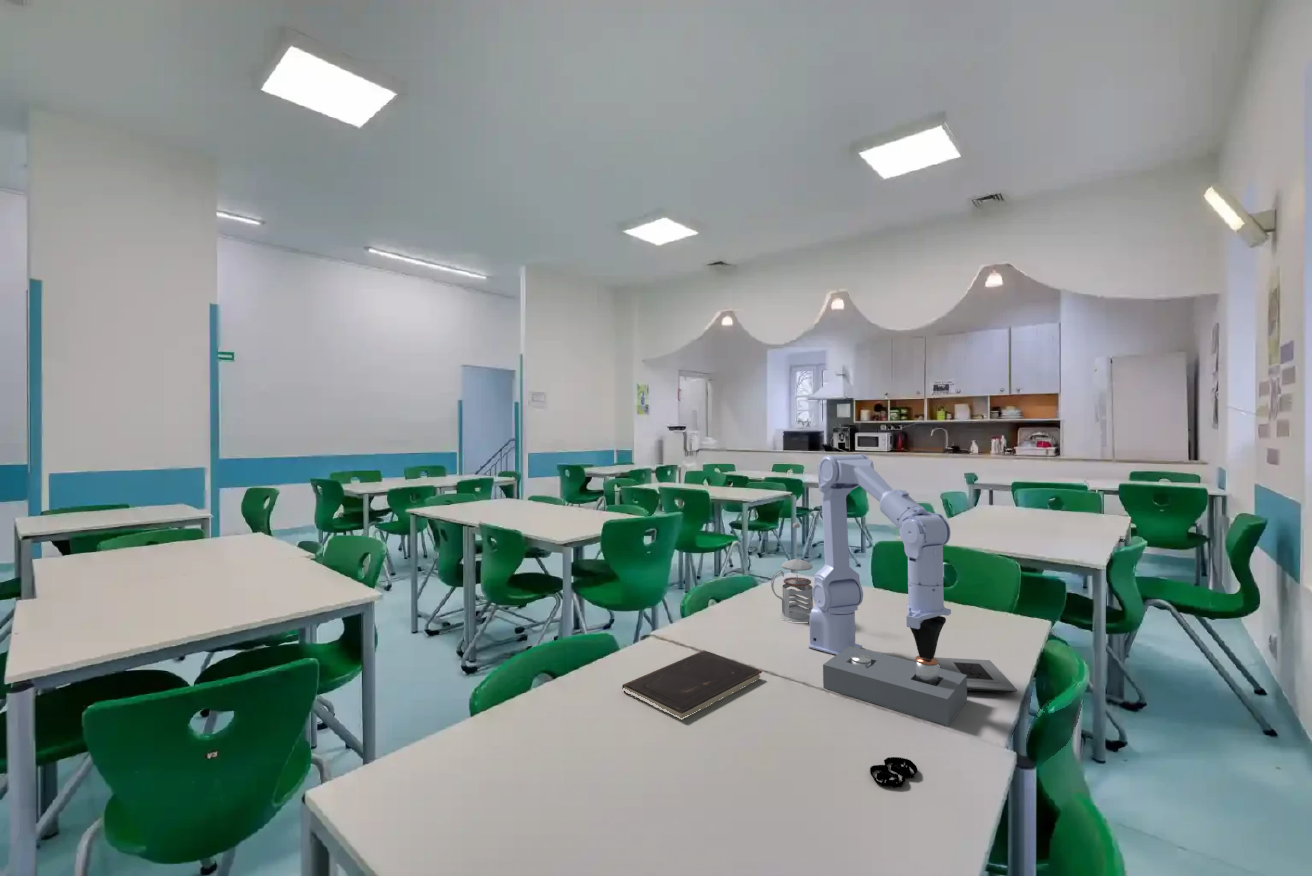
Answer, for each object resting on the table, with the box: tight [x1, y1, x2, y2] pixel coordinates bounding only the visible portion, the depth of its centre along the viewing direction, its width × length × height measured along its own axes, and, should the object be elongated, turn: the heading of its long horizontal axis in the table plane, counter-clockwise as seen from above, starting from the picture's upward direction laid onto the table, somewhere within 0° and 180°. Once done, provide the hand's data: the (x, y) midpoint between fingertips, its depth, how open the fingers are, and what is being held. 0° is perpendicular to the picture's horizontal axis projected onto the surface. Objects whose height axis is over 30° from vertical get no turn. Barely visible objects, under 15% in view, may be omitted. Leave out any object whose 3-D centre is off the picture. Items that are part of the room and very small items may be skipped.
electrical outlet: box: [934, 656, 1018, 694], centre depth 110 cm, size 13×10×2 cm
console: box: [822, 646, 968, 727], centre depth 106 cm, size 22×12×4 cm, turn 48°
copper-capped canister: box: [915, 655, 939, 686], centre depth 102 cm, size 4×4×5 cm
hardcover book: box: [621, 649, 763, 718], centre depth 111 cm, size 16×23×2 cm
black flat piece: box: [869, 756, 918, 789], centre depth 81 cm, size 5×8×1 cm, turn 125°
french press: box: [770, 522, 814, 622], centre depth 149 cm, size 10×12×25 cm
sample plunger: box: [851, 654, 871, 668], centre depth 110 cm, size 4×4×5 cm
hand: (926, 657), depth 102 cm, fingers closed
